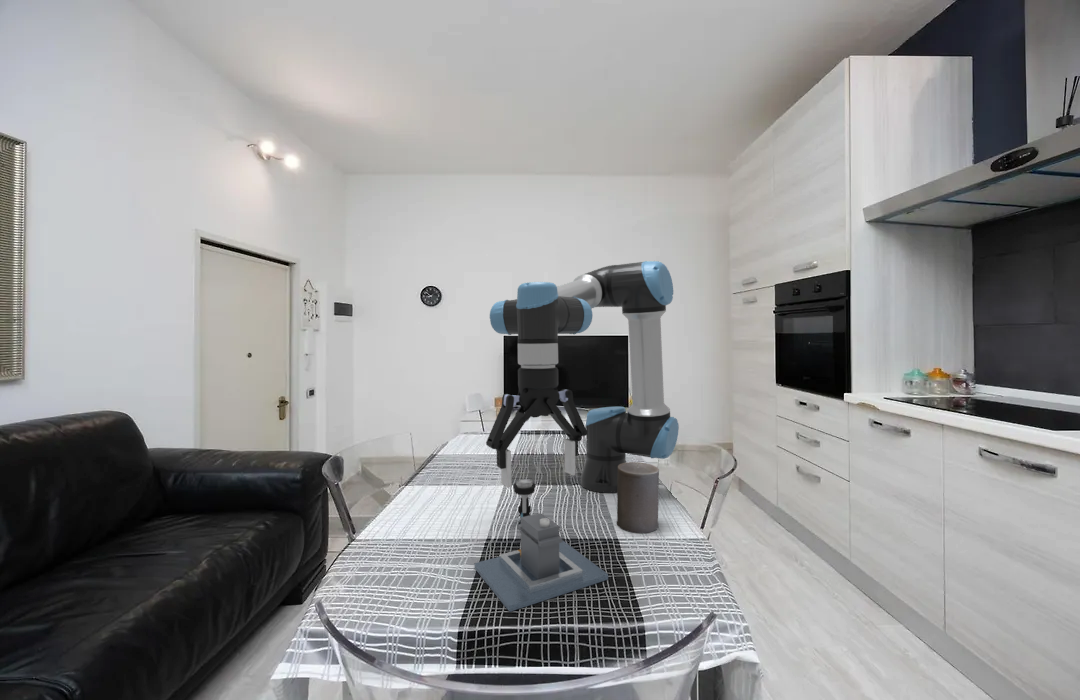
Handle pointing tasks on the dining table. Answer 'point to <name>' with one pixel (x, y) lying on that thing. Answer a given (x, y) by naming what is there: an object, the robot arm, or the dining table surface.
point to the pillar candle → (637, 497)
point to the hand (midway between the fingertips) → (539, 479)
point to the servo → (540, 545)
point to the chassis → (525, 589)
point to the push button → (524, 495)
